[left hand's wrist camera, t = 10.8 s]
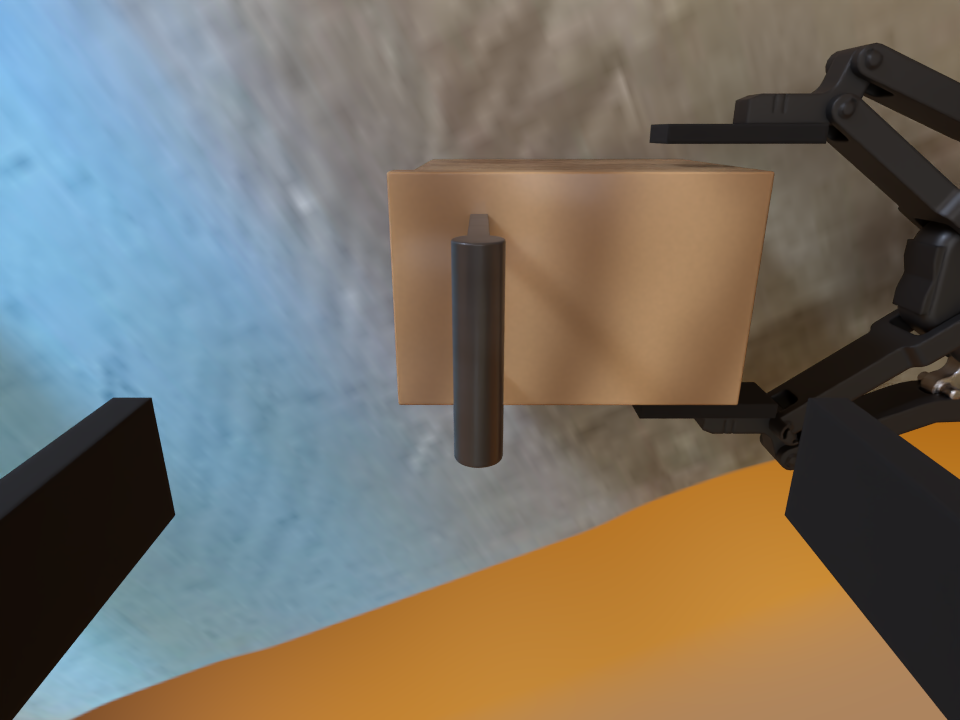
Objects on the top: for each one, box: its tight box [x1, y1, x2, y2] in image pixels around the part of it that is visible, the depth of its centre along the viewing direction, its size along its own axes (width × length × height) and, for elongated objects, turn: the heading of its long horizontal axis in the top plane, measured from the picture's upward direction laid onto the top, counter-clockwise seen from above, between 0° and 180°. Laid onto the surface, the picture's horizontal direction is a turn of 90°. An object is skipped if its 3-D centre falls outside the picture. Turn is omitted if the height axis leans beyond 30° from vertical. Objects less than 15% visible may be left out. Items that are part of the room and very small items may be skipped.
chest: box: [415, 159, 757, 170], centre depth 30 cm, size 14×10×10 cm
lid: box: [387, 170, 774, 468], centre depth 22 cm, size 14×10×9 cm, turn 90°
